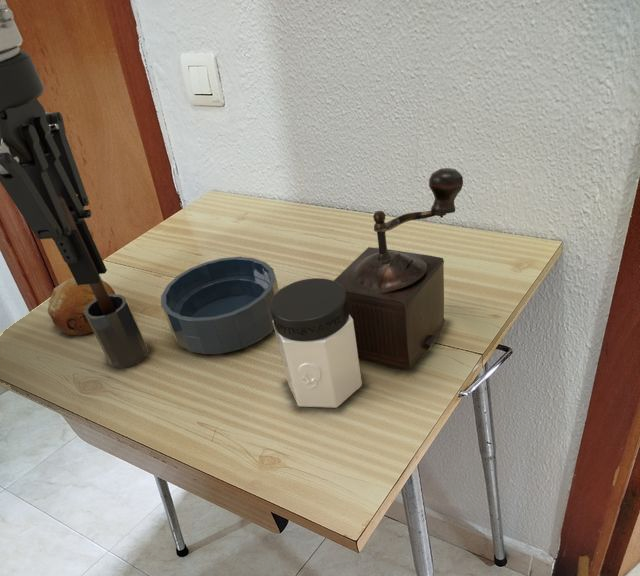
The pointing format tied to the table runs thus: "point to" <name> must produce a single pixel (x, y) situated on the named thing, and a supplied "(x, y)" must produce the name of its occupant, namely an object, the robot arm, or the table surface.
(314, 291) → the jar
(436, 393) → the table surface
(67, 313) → the bread roll
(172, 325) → the bowl
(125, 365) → the holder
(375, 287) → the manual coffee grinder
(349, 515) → the table surface
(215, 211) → the table surface
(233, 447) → the table surface
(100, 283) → the stick
